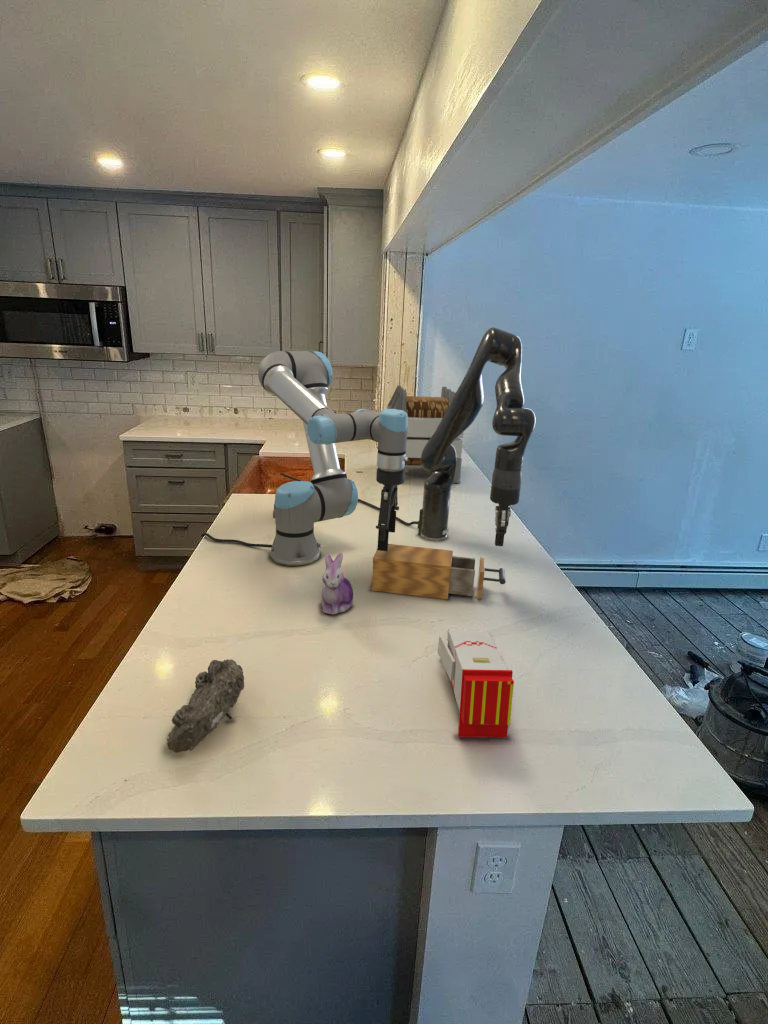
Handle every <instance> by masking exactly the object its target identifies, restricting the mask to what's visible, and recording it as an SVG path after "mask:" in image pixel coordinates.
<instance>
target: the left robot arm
mask: <svg viewBox="0 0 768 1024" xmlns="http://www.w3.org/2000/svg"><path fill="white" fill-rule="evenodd" d="M257 376H258V377H257V378H258V381H259V384H260V385H261V387H262V388H263V390H264V391H265V392H266V393H268V394H269V395H271V396H273V397H277V398H278V399H279V400H280V401H281V402H282V403H283V404H284V405H285V406H286V407H288V408H289V410H290V411H291V412H293V413H294V414H295V416H297V418H299V419H300V420H301V421H302V424H303V430H304V434H305V437H306V444H307V448H308V452H309V456H310V462H311V466H312V471H313V476H312V477H311V479H310V481H308V480H302V481H295V480H293V481H289V482H285V483H283V484H281V485H279V486H278V487H277V489H276V490H275V493H274V503H275V519H274V520H275V536H274V537H273V541H272V544H267V543H251V542H246V541H244V540H243V541H242V540H239V539H231V538H230V539H229V538H216V537H214V536H212V535H211V534H209V533H208V532H203V533H202V534H201V535H200V537H201V538H204V537H205V536H206V537H207V538H209V539H210V540H212V541H214V542H216V543H217V542H218V543H236V544H239V545H244V546H247V547H253V548H254V547H255V548H270V553H269V554H270V559H271V561H273V562H274V563H276V564H278V565H281V566H288V567H300V566H307V565H309V564H312V563H315V562H316V561H317V560H318V559H319V558H320V555H321V553H320V549H321V547H322V546H321V545H322V544H321V543H319V542H317V538H316V535H315V528H314V527H315V523H319V522H323V521H329V520H335V519H341V518H344V517H347V516H350V515H352V514H353V513H354V512H355V511H356V509H357V506H358V502H359V501H358V499H359V490H358V487H357V485H356V483H355V481H354V480H352V479H350V478H348V475H347V472H345V471H344V470H342V469H341V465H340V461H339V456H338V450H337V446H336V444H339V443H347V442H357V441H364V440H369V441H373V442H376V443H377V454H376V456H377V457H376V467H377V468H376V476H375V478H376V479H375V481H376V482H377V483H378V484H380V485H382V486H383V487H382V488H381V493H380V504H379V508H380V511H379V510H378V521H377V525H375V529H377V530H378V533H377V548H376V550H379V551H388V544H389V537H390V536H389V535H390V533H396V524H397V523H396V522H397V520H396V517H397V511H400V506H398V505H399V502H398V501H399V500H398V489H399V487H398V486H400V485H403V484H404V482H405V475H406V474H405V473H406V472H405V471H406V470H405V467H406V465H405V461H407V460H408V458H407V457H405V455H406V444H407V431H408V414H407V413H406V412H405V411H403V410H397V409H387V408H384V409H381V410H380V412H378V411H377V412H376V411H374V410H372V409H368V408H367V409H366V408H359V409H357V410H356V411H354V412H344V413H336V412H335V411H333V410H332V409H331V408H330V407H329V406H328V404H327V399H326V395H327V394H328V392H329V387H330V385H331V384H332V382H333V368H332V365H331V362H330V360H329V358H328V357H327V355H325V354H324V353H323V352H321V351H317V350H316V351H315V350H310V349H309V350H286V351H284V350H278V351H273V352H271V353H269V354H268V355H266V356H265V357H264V358H263V359H262V360H261V362H260V364H259V367H258V370H257Z"/></svg>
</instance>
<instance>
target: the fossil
mask: <svg viewBox="0 0 768 1024" xmlns="http://www.w3.org/2000/svg"><path fill="white" fill-rule="evenodd" d="M243 670H244V669H243V667H242V665H240V664H237V662H236V661H235V660H234V659H232V658H231V659H227V658H226V659H224V660H223V661H222V660H217V659H212V660H211V661H210V663H209V665H208V666H207V671H201V672H199V673H198V674H197V675H196V676H195V680H194V684H195V685H194V687H195V689H194V690H193V693H192V694H191V697H190V698H189V700H188V704H184V705H182V706H181V707H180V709H177V710H176V711H175V713H174V715H173V716H172V718H171V723H172V724H173V727H172V730H171V731H170V732H168V734H167V738H166V741H167V742H166V745H167V749H168V750H169V751H173V752H174V753H176V754H178V753H182V752H188V751H189V752H192V751H193V750H195V748H196V747H197V746H199V744H200V743H201V742H203V741H204V740H205V739H206V738H207V737H208V736H209V735H210V734H211V733H212V732H214V730H215V729H217V727H218V726H219V724H220V722H221V721H222V720H223V719H224V718H225V716H226V717H227V719H229V720H233V717H232V715H230V714H229V710H230V709H231V708H234V706H235V704H236V703H237V702H238V699H239V697H240V695H241V693H242V691H243V690H245V689H244V688H245V675H244V671H243Z"/></svg>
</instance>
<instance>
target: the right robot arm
mask: <svg viewBox="0 0 768 1024" xmlns="http://www.w3.org/2000/svg"><path fill="white" fill-rule="evenodd" d="M522 357H523V345H522V341H521V338H520V337H519V336H517V335H515V333H512V332H508V331H506V330H503V329H500V328H498V327H493V326H492V327H489V328H488V329H487V330H486V332H485V333H484V334H483V335H482V338H481V340H480V342H479V344H478V346H477V348H476V350H475V352H474V355H473V357H472V360H471V362H470V365H469V367H468V369H467V371H466V373H465V375H464V377H463V379H462V381H461V382H460V384H459V386H458V388H457V390H456V392H455V395H454V397H453V399H452V401H451V403H450V405H449V407H448V409H447V411H446V413H445V415H444V416H443V418H442V420H441V422H440V424H439V426H438V427H437V429H436V431H435V432H434V434H433V435H432V437H431V438H430V440H429V441H428V443H427V444H426V446H425V447H424V449H423V451H422V454H421V465H422V466H421V467H422V468H423V470H424V471H426V472H428V473H431V474H430V475H429V477H427V478H426V479H425V480H424V482H423V493H422V496H423V497H422V506H421V508H420V509H419V516H418V520H417V521H414V520H413V521H411V522H407V521H405V520H403V519H401V518H400V517H397V516H396V521H398V522H400V523H401V524H403V525H405V526H412V525H417V535H418V536H420V538H421V539H424V540H426V541H432V542H440V541H444V540H446V539H447V538H448V533H449V528H448V525H449V517H450V516H449V514H450V504H451V494H452V493H451V491H452V486H453V484H454V483H453V482H454V477H455V470H456V462H457V455H456V450H455V448H454V446H453V445H452V442H453V441H454V440H455V439H456V438H457V437H458V436H459V435H460V434H462V433H463V434H464V432H465V431H466V430H467V429H468V428H469V427H470V426H471V425H472V424H473V423H474V421H476V418H477V416H478V415H479V413H480V411H481V410H482V408H483V406H484V401H485V397H484V396H485V395H484V394H485V393H484V387H483V372H484V369H485V366H486V364H487V363H488V362H489V363H492V364H495V365H498V366H501V367H504V368H505V370H504V371H503V372H501V374H500V375H499V376H498V378H497V379H496V381H495V384H494V394H495V401H496V407H495V411H494V414H493V417H492V422H491V426H492V430H493V431H494V433H495V434H497V435H499V436H504V437H505V436H506V437H507V436H508V437H509V436H510V437H516V438H515V439H514V440H513V441H511V442H507V443H502V444H499V445H498V446H497V447H496V451H495V459H494V468H493V470H492V471H493V472H492V476H491V477H492V478H491V486H490V494H489V500H490V502H492V503H494V504H498V505H495V507H494V512H495V517H494V525H495V537H494V538H495V539H494V546H495V547H503V546H504V544H505V543H504V542H505V535H507V531H508V527H509V524H510V523H509V522H510V518H511V516H512V515H511V514H512V510H511V507H512V506H515V505H517V504H519V502H520V497H521V496H520V495H521V489H522V487H521V486H522V480H523V465H524V457H525V452H526V449H527V446H528V443H529V441H530V439H531V436H532V434H533V432H534V429H535V427H536V421H537V419H536V415H535V412H534V411H533V410H532V409H531V408H527V407H526V408H525V407H524V404H525V397H524V392H523V387H522V377H521V376H522V375H521V374H522V361H523V360H522ZM279 474H280V476H282V477H284V478H288V479H290V480H293V481H303V479H299V478H296V477H293V476H290V475H289V474H285V473H282V472H280V473H279ZM358 502H359V503H362V504H364V505H366V506H369V507H372V508H374V509H375V510H378V512H379V511H380V506H379V507H378V506H377V505H374V504H372V503H370V502H367V501H365V500H363V499H360V498H358Z"/></svg>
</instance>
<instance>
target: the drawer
mask: <svg viewBox="0 0 768 1024" xmlns="http://www.w3.org/2000/svg"><path fill="white" fill-rule="evenodd" d="M475 567H476V558H475V557H467V556H466V557H465V556H455V555H453V556H452V563H451V572H450V583H449V594H452V595H460V596H468V597H473V594H474V593H473V592H474V583H475V576H476V569H475ZM485 572H492V573H498V578H491V577H485ZM477 573H478V574H477V582H476V583H477V585H476V599H477V600H482V598H483V597H482V596H483V590H484V589H483V588H484V582H485V581H489V582H496V583H499V584H500V585H505V584H506V570H505V568H503V567H500V568H498V569H496V568H487V567H485V557H479V565H478V572H477Z"/></svg>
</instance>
